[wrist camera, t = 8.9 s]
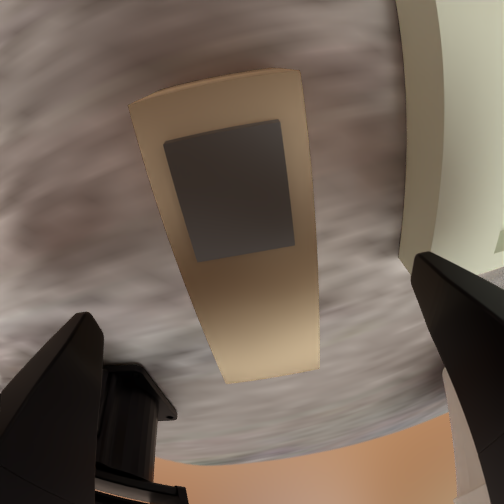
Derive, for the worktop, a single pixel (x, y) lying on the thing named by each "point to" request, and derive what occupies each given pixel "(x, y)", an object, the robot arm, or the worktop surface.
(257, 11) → the worktop surface
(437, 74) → the jig
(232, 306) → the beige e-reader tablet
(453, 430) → the cup
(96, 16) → the worktop surface
